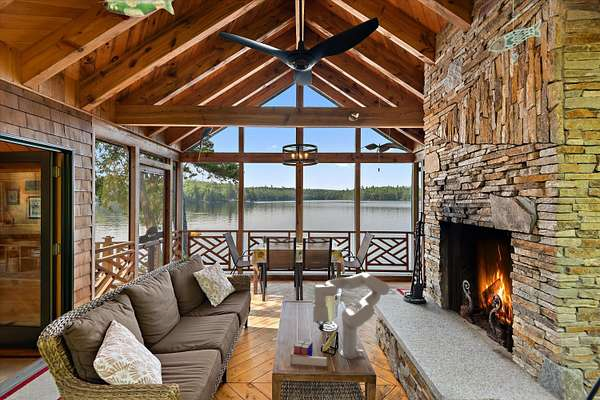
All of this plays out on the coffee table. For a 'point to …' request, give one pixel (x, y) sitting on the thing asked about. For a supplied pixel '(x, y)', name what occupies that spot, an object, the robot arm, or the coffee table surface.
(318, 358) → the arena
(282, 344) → the coffee table surface
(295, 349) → the puzzle cube
